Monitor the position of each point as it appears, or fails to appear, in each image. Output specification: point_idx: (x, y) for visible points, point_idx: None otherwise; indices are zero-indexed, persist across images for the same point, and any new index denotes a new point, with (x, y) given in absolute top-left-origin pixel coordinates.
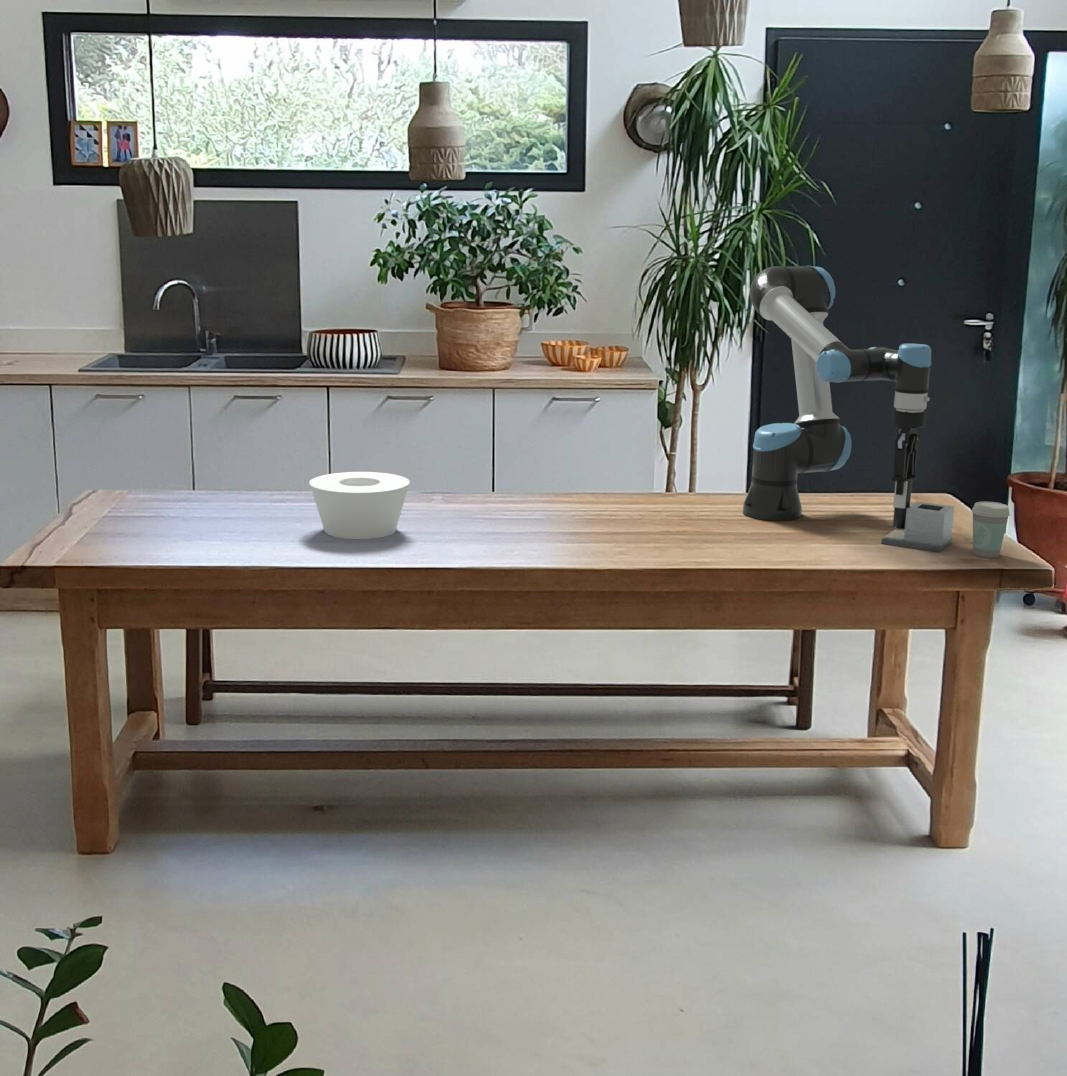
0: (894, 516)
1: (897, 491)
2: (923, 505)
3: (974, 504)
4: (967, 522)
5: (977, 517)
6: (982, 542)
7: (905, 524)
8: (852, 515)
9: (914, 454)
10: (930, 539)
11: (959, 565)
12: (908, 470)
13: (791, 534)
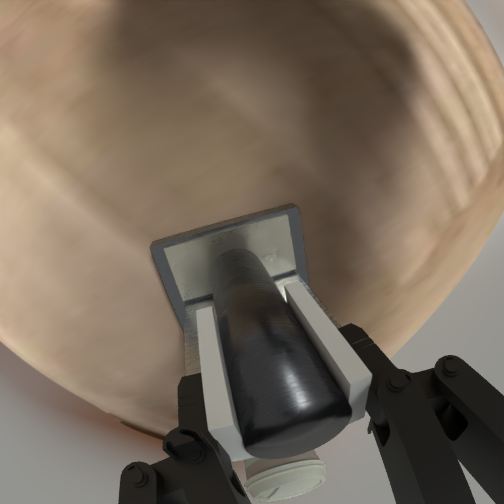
0: (218, 280)
1: (182, 397)
2: None
3: (278, 483)
4: (463, 257)
5: (248, 474)
6: None
7: (184, 335)
8: (392, 31)
9: (485, 482)
10: None
11: (153, 418)
12: (385, 446)
13: (59, 20)
